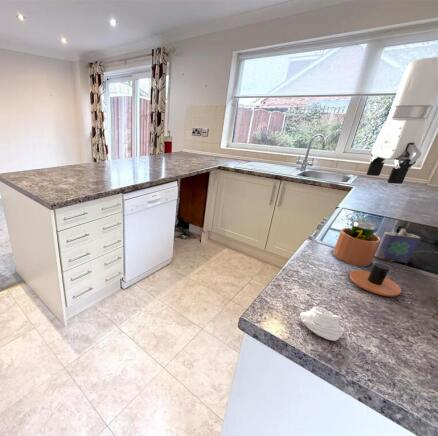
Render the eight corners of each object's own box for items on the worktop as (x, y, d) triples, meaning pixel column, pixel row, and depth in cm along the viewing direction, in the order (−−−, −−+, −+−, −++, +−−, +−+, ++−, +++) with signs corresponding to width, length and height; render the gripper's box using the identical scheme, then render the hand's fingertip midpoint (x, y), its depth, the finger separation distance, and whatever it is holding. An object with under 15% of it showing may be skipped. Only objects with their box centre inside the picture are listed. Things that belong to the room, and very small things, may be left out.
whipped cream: (295, 328, 54) (298, 312, 52) (302, 310, 58) (306, 294, 56) (340, 348, 49) (346, 330, 47) (344, 326, 53) (350, 309, 51)
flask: (376, 258, 80) (389, 229, 76) (371, 254, 83) (384, 225, 78) (410, 263, 78) (426, 233, 74) (404, 259, 80) (419, 229, 76)
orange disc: (383, 276, 71) (391, 258, 69) (410, 301, 61) (421, 281, 59) (341, 271, 73) (348, 253, 71) (361, 294, 64) (370, 274, 61)
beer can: (339, 251, 83) (351, 218, 79) (358, 253, 82) (371, 220, 77) (345, 259, 79) (358, 225, 74) (365, 262, 77) (380, 227, 72)
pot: (360, 252, 84) (369, 229, 81) (377, 268, 75) (389, 243, 72) (328, 248, 86) (335, 226, 83) (341, 263, 77) (350, 239, 74)
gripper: (372, 114, 72) (352, 172, 79) (416, 113, 57) (387, 185, 63) (402, 114, 71) (379, 173, 77) (456, 114, 55) (421, 188, 62)
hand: (382, 179), depth 70 cm, fingers open, 9 cm apart
